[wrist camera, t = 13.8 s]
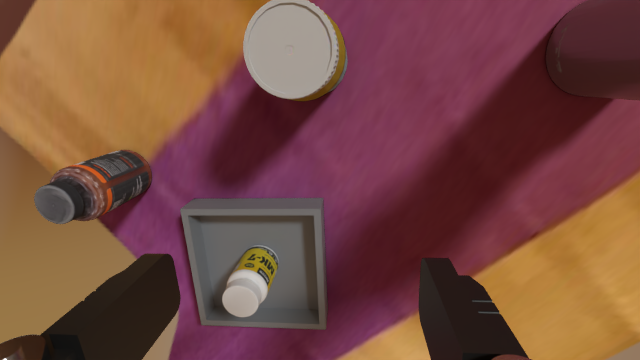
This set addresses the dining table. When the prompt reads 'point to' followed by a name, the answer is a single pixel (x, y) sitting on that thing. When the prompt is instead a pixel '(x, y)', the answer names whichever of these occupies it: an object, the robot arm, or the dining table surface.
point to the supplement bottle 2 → (250, 281)
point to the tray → (267, 230)
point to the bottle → (294, 50)
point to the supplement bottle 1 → (93, 187)
